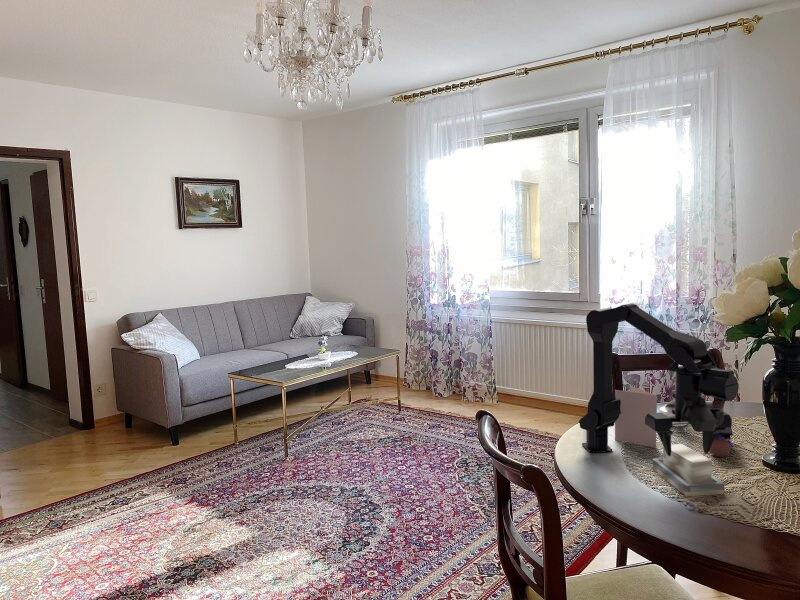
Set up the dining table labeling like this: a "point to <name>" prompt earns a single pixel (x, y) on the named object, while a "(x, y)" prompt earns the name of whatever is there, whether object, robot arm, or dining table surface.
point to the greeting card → (635, 417)
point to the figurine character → (722, 443)
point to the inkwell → (669, 410)
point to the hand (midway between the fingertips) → (687, 454)
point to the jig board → (685, 488)
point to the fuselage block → (688, 464)
